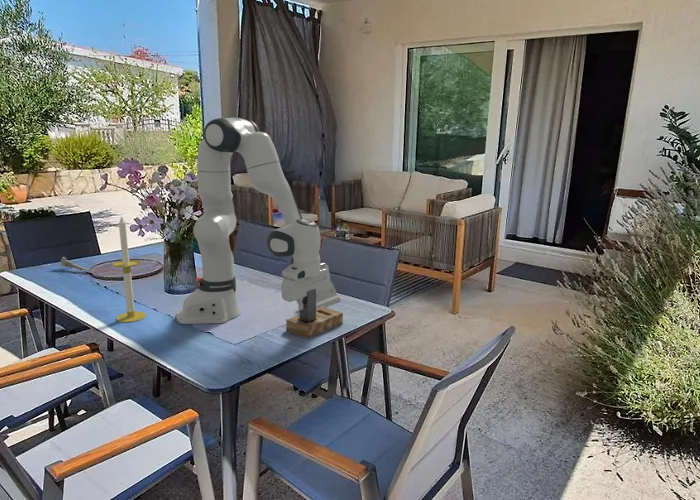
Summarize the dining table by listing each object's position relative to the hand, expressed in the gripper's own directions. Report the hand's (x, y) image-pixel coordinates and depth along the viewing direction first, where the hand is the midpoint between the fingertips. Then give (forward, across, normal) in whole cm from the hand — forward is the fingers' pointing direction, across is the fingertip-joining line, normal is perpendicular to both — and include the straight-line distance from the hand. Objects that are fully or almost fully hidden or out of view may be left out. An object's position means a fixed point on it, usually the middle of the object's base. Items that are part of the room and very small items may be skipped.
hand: (307, 306), depth 165 cm
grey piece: (+9, -22, -15) cm, 28 cm away
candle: (+8, +35, -55) cm, 66 cm away
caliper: (+8, +25, -128) cm, 130 cm away
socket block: (+9, -4, 0) cm, 10 cm away
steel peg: (+6, 0, 0) cm, 6 cm away
